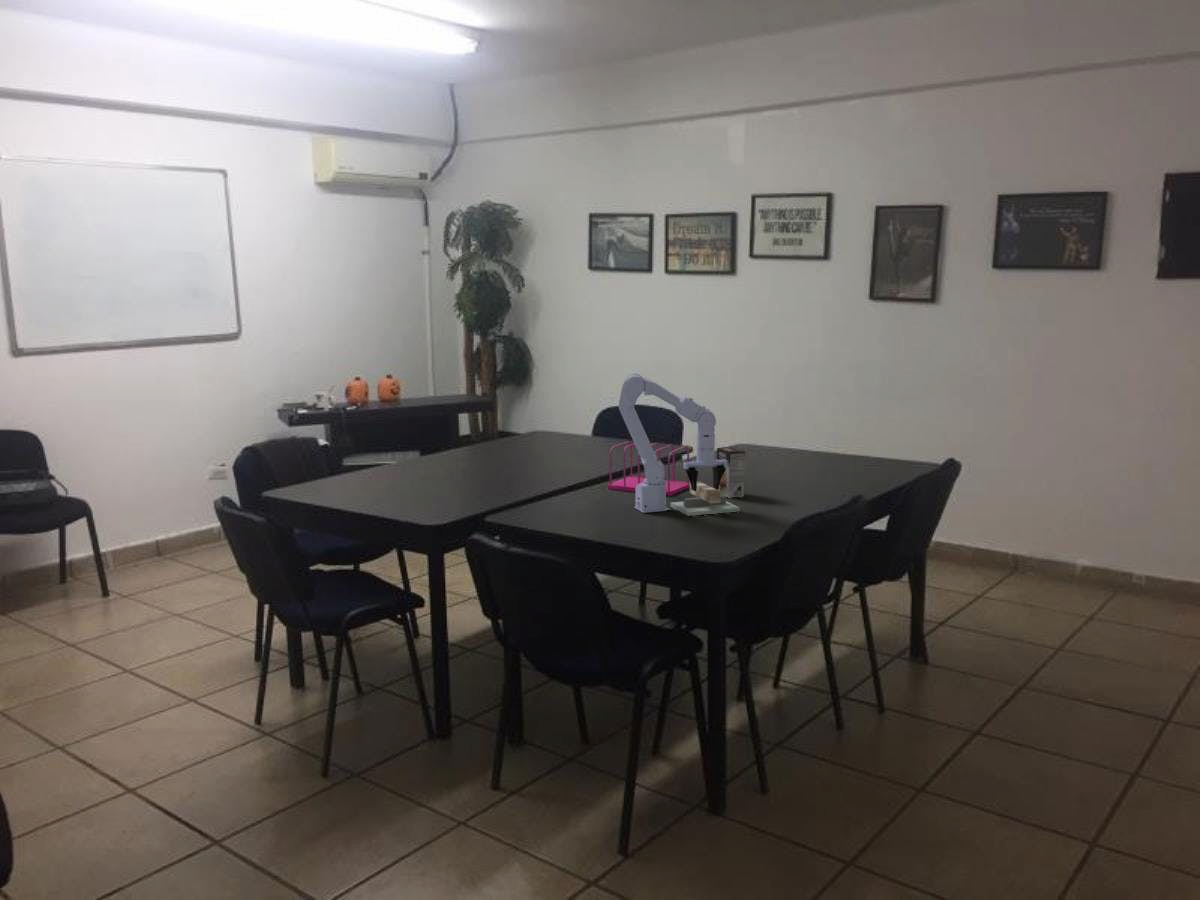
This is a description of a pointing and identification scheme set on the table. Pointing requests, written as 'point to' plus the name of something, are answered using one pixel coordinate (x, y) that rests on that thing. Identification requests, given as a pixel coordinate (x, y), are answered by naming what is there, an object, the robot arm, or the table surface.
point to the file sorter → (631, 482)
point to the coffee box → (732, 471)
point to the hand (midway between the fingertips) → (705, 489)
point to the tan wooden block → (706, 493)
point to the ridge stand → (703, 506)
